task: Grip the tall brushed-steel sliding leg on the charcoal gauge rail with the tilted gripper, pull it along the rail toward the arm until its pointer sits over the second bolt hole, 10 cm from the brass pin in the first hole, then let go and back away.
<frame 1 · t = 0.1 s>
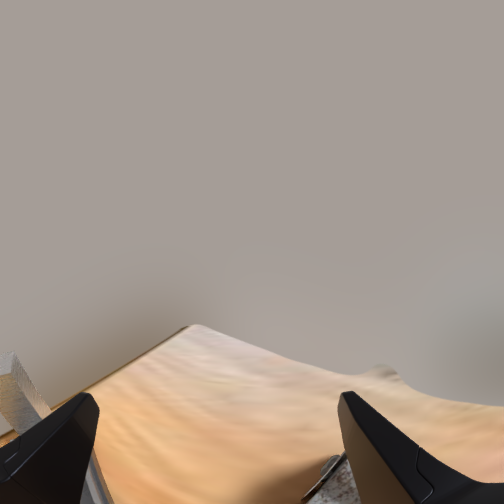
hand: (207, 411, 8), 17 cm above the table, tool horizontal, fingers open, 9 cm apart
sliding leg: (16, 417, 14), point 7 cm above the table, slide at 10.0 cm
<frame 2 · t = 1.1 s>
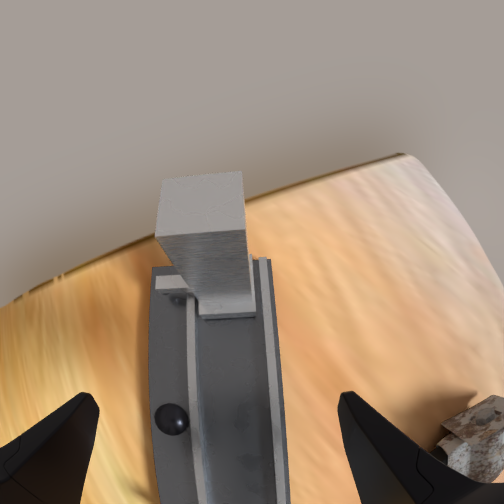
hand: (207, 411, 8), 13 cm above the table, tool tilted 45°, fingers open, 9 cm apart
sliding leg: (191, 261, 16), point 7 cm above the table, slide at 10.0 cm
caster wheel: (447, 462, 15), on the table
gauge rail: (218, 421, 18), on the table
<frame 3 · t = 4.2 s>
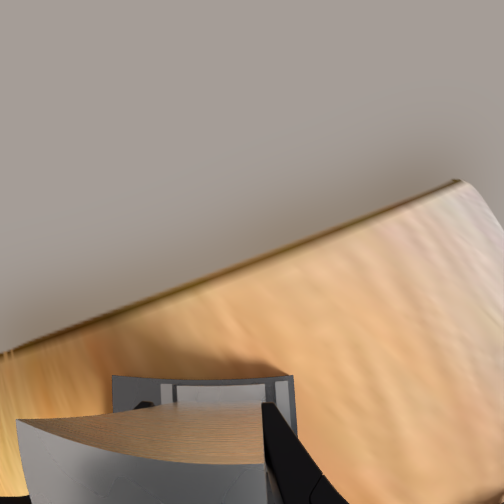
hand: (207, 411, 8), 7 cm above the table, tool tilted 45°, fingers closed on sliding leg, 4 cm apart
sliding leg: (156, 450, 7), point 7 cm above the table, slide at 10.0 cm, touching gripper
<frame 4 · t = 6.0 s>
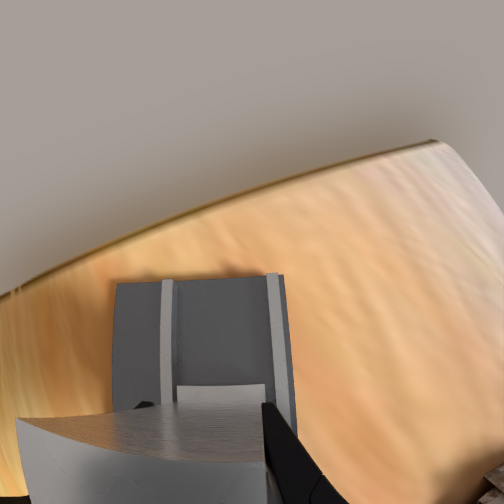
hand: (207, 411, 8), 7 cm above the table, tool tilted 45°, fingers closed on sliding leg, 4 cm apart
sliding leg: (156, 449, 7), point 7 cm above the table, slide at 4.4 cm, touching gripper
gauge rail: (210, 489, 11), on the table
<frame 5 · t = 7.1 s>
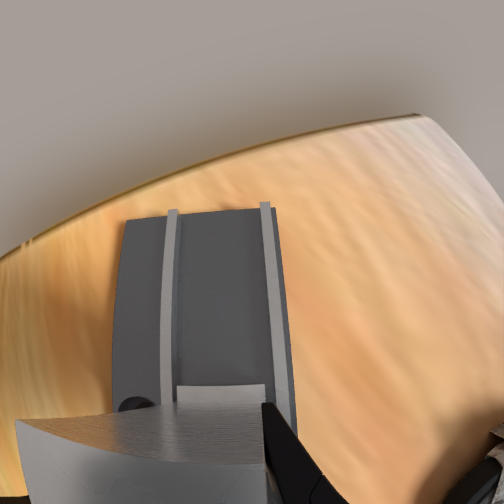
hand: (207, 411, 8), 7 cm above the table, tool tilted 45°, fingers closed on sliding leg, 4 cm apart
sliding leg: (156, 450, 7), point 7 cm above the table, slide at -0.1 cm, touching gripper
caster wheel: (486, 478, 9), on the table
gauge rail: (204, 423, 13), on the table
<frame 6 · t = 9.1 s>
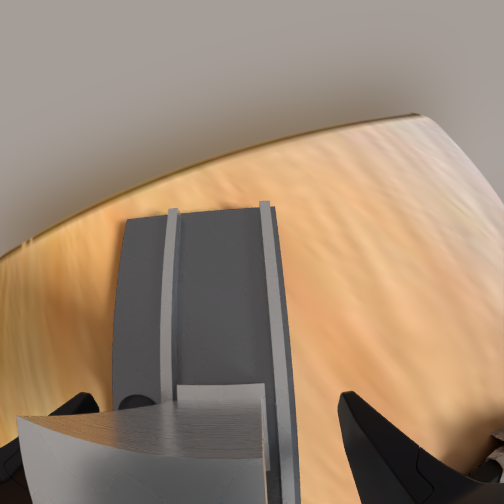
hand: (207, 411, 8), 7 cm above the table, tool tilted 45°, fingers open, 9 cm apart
sliding leg: (156, 448, 7), point 7 cm above the table, slide at -0.2 cm
caster wheel: (485, 482, 9), on the table
gauge rail: (203, 421, 13), on the table
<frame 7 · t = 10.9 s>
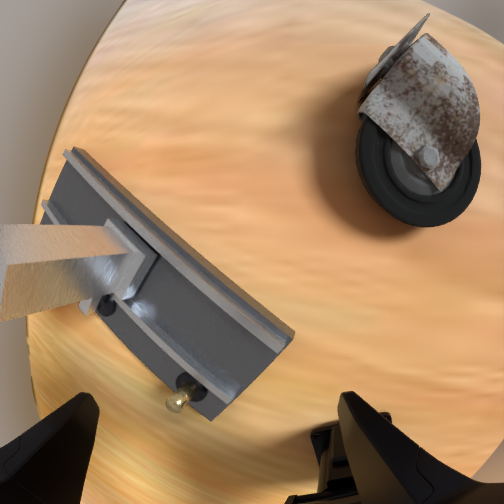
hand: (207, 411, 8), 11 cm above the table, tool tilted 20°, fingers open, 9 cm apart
sliding leg: (63, 284, 14), point 7 cm above the table, slide at -0.2 cm
caster wheel: (413, 144, 16), on the table
gauge rail: (132, 271, 22), on the table
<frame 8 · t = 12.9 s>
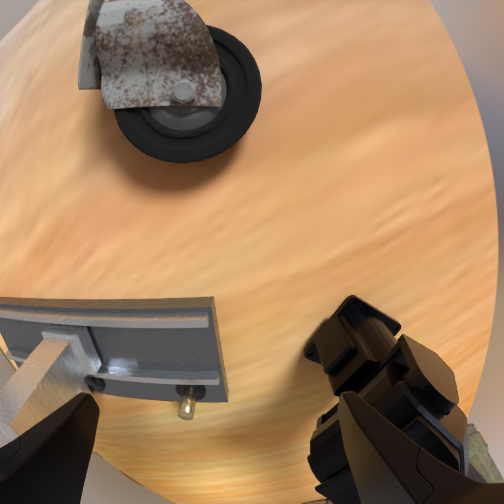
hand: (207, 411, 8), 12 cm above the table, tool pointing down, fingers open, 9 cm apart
sliding leg: (53, 400, 15), point 7 cm above the table, slide at -0.2 cm
alarm clock: (322, 502, 38), on the table
caster wheel: (184, 78, 15), on the table
gauge rail: (89, 346, 22), on the table
thermos: (455, 437, 32), on the table
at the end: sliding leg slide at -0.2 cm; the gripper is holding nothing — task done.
